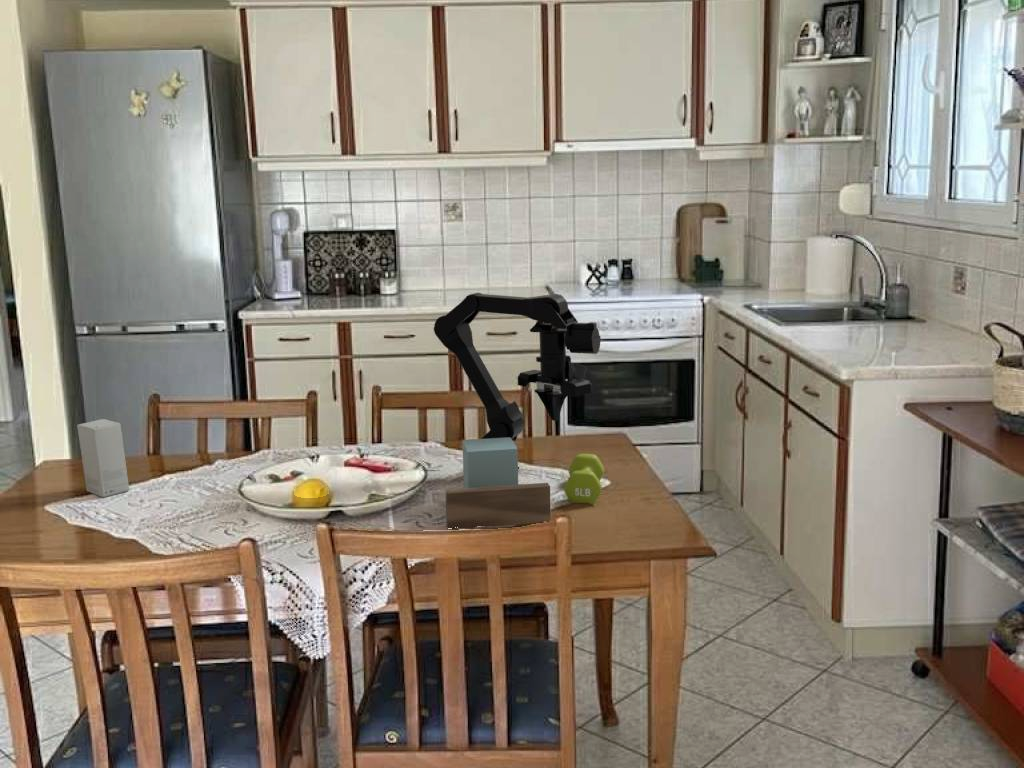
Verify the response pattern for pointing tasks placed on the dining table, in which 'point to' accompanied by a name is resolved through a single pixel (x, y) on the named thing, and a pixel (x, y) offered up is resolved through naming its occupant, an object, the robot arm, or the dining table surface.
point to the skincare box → (103, 457)
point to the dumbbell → (584, 479)
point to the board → (498, 505)
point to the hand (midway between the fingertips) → (554, 420)
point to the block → (490, 462)
